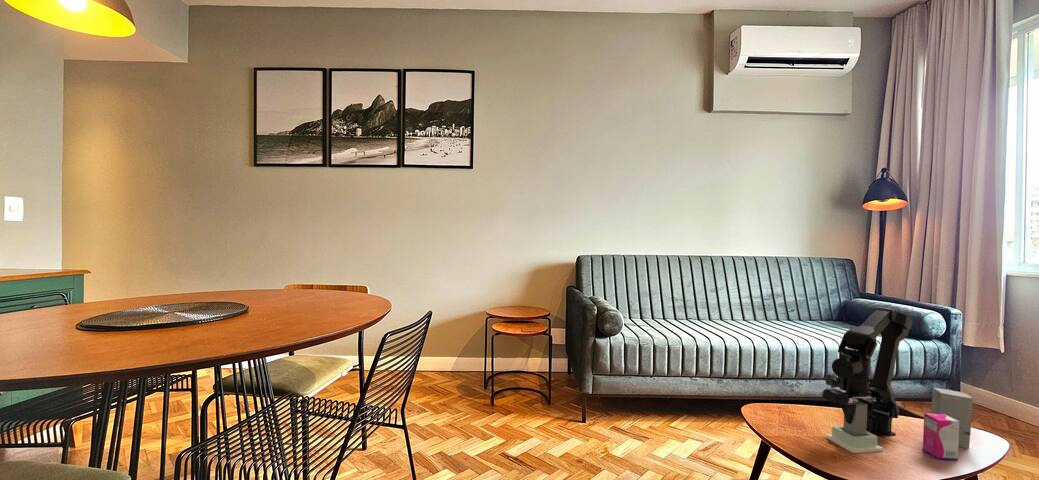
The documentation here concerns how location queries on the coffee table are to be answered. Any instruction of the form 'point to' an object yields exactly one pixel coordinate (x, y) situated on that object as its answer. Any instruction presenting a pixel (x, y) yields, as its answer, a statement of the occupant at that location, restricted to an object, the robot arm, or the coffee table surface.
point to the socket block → (854, 441)
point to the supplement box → (941, 436)
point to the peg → (857, 420)
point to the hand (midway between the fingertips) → (854, 423)
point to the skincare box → (955, 411)
